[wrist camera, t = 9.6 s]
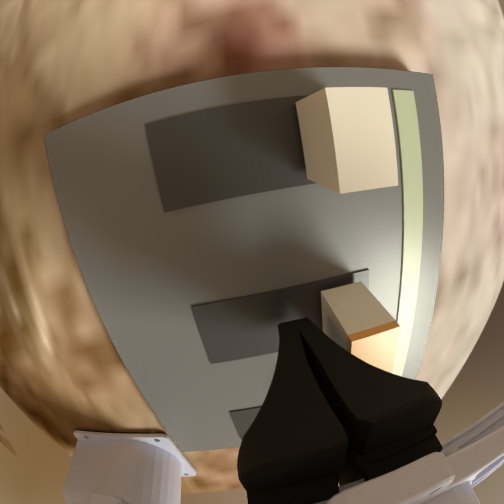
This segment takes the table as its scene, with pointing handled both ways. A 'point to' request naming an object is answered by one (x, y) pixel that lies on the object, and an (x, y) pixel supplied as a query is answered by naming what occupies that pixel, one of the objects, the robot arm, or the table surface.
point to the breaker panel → (250, 226)
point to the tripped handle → (360, 324)
